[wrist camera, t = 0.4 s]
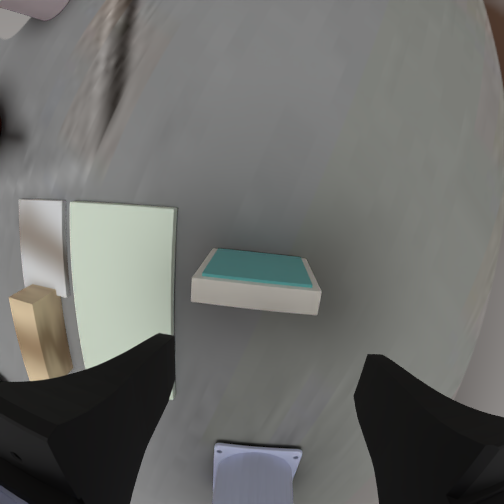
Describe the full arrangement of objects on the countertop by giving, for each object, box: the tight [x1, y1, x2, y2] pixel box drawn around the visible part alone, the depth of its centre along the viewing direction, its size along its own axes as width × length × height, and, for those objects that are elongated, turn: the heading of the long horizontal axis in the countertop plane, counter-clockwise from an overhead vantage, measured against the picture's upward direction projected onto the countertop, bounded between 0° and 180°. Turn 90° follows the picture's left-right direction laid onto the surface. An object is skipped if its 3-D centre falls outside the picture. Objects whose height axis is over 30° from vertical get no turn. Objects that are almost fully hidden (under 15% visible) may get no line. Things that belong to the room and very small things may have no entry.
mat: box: [70, 201, 177, 400], centre depth 21 cm, size 15×8×1 cm, turn 174°
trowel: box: [9, 199, 73, 381], centre depth 19 cm, size 15×5×4 cm, turn 174°
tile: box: [191, 248, 322, 315], centre depth 17 cm, size 1×6×6 cm, turn 84°
